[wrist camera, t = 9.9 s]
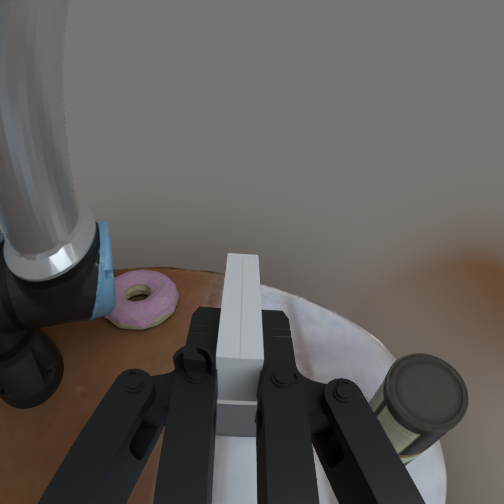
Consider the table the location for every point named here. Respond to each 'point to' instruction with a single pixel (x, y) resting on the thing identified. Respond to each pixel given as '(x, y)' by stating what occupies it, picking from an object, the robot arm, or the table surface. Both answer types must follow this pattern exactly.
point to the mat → (236, 420)
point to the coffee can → (419, 403)
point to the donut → (143, 311)
